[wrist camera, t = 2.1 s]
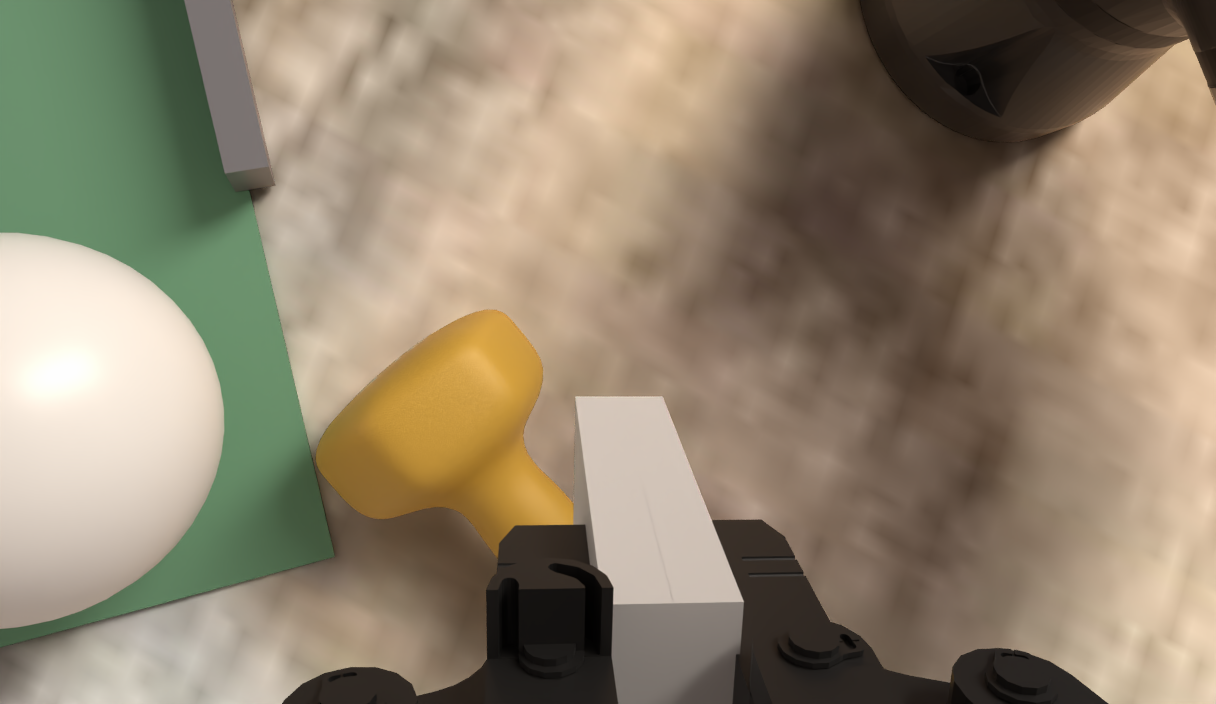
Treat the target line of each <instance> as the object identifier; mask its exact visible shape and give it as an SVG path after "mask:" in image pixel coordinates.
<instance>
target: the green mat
mask: <svg viewBox="0 0 1216 704" xmlns="http://www.w3.org/2000/svg"><path fill="white" fill-rule="evenodd" d="M0 233H24V234H32V235H39V236H47V237H51V238H55V239H59V240H63V241H67V242H71V243H75V244H79V245H83V246H85V247H88V248H91V249H93V250H96V251H99V252H101V253H104V254H107V255H108V256H110V257H112V258H114V259H116V260H118V261H120V262H122V263H124V264H126V265H128V266H130V267H131V268H133V269H134V270H136V271H137V272H139V273H140V274H141V275H143V276H144V277H146V278H147V279H149V280H150V281H152V282H153V283H154V284H155V285H156V286H157V287H158V288H160V289H161V290H162V291H163V292H164V293H165V294H166V295H167V296H168V297H170V298H171V299H172V300H173V301H174V302H175V304H176V305H177V306H178V307H179V308H180V309H181V311H182V312H183V313H184V314H185V315H186V316H187V318H188V319H189V320H190V321H191V323H192V324H193V326H194V327H195V329H196V330H197V332H198V333H199V335H200V337H201V338H202V340H203V341H204V344H205V346H206V348H207V350H208V352H209V354H210V356H211V358H212V361H213V363H214V366H215V370H216V373H217V376H218V379H219V382H220V387H221V393H222V399H223V405H224V437H223V446H222V454H221V458H220V462H219V465H218V469H217V473H216V477H215V479H214V482H213V484H212V487H211V489H210V491H209V494H208V496H207V499H206V501H205V503H204V504H203V506H202V508H201V510H200V511H199V513H198V515H197V517H196V518H195V520H194V522H193V524H192V525H191V526H190V528H189V529H188V530H187V532H186V533H185V534H184V536H183V537H182V538H181V540H180V541H179V542H178V543H177V545H176V546H175V547H174V548H173V549H172V550H171V551H170V552H169V553H168V554H167V555H166V556H165V557H164V558H163V559H162V560H161V561H160V562H159V563H158V564H157V565H156V566H154V567H153V568H152V569H151V570H149V571H148V572H147V573H146V574H144V575H143V576H142V577H141V578H139V579H138V580H137V581H135V582H134V583H132V584H130V585H129V586H127V587H126V588H124V589H122V590H121V591H119V592H117V593H116V594H114V595H113V596H111V597H109V598H108V599H106V600H104V601H102V602H99V603H97V604H95V605H93V606H91V607H89V608H86V609H84V610H82V611H80V612H77V613H74V614H71V615H68V616H65V617H62V618H58V619H55V620H52V621H47V622H42V623H37V624H33V625H28V626H22V627H16V628H5V629H0V647H4V646H7V645H11V644H15V643H18V642H22V641H26V640H29V639H33V638H37V637H41V636H44V635H48V634H52V633H55V632H59V631H63V630H66V629H70V628H74V627H77V626H81V625H85V624H89V623H92V622H96V621H100V620H103V619H107V618H111V617H114V616H118V615H122V614H125V613H129V612H133V611H137V610H140V609H144V608H148V607H151V606H155V605H159V604H162V603H166V602H170V601H173V600H177V599H181V598H184V597H188V596H192V595H196V594H199V593H203V592H207V591H210V590H214V589H218V588H221V587H225V586H229V585H232V584H236V583H240V582H244V581H247V580H251V579H255V578H258V577H262V576H266V575H269V574H273V573H277V572H280V571H284V570H288V569H292V568H295V567H299V566H303V565H306V564H310V563H314V562H317V561H321V560H325V559H328V558H332V557H335V554H334V550H333V546H332V542H331V537H330V533H329V529H328V524H327V520H326V516H325V512H324V507H323V503H322V499H321V494H320V490H319V486H318V482H317V477H316V473H315V469H314V465H313V460H312V456H311V452H310V447H309V443H308V439H307V435H306V430H305V426H304V422H303V417H302V413H301V409H300V405H299V400H298V396H297V392H296V387H295V383H294V379H293V375H292V370H291V366H290V362H289V358H288V353H287V349H286V345H285V340H284V336H283V332H282V328H281V323H280V319H279V315H278V310H277V306H276V302H275V298H274V293H273V289H272V285H271V280H270V276H269V272H268V268H267V263H266V259H265V255H264V250H263V246H262V242H261V238H260V233H259V229H258V225H257V221H256V216H255V212H254V208H253V203H252V199H251V195H250V191H249V190H246V191H240V192H235V190H234V189H233V187H232V185H231V183H230V182H229V180H228V178H227V176H226V175H225V172H224V168H223V164H222V159H221V155H220V151H219V147H218V142H217V138H216V134H215V129H214V125H213V121H212V117H211V112H210V108H209V104H208V100H207V95H206V91H205V87H204V83H203V78H202V74H201V70H200V65H199V61H198V57H197V53H196V48H195V44H194V40H193V36H192V31H191V27H190V23H189V19H188V14H187V10H186V6H185V1H184V0H0Z"/></svg>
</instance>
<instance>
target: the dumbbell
mask: <svg viewBox="0 0 1216 704" xmlns="http://www.w3.org/2000/svg"><path fill="white" fill-rule="evenodd" d="M542 381H543V367H542V363H541V360H540V357H539V356H538V354H537V352H536V350H535V349H534V347H533V346H532V345H531V343H530V342H529V341H528V339H527V338H526V337H525V336H524V334H523V333H522V332H521V331H520V330H519V328H518V327H517V326H516V325H515V324H514V322H513V321H512V320H511V319H510V318H509V317H508V316H507V315H505V314H504V313H503V312H500V311H497V310H483V311H478V312H475V313H472V314H469V315H466V316H464V317H462V318H460V319H458V320H456V321H454V322H452V323H450V324H448V325H446V326H445V327H443V328H441V329H439V330H438V331H436V332H434V333H433V334H431V335H429V336H428V337H426V338H425V339H423V340H422V341H420V342H419V343H417V344H416V345H415V346H413V347H412V348H411V349H409V350H408V351H407V352H405V353H404V354H403V355H402V356H400V357H399V358H398V359H397V360H395V361H394V362H393V363H392V364H391V365H389V366H388V367H387V368H386V369H385V370H384V371H382V372H381V373H380V374H379V375H378V376H377V377H376V378H375V379H373V380H372V381H371V382H370V383H369V384H368V385H367V386H366V387H365V388H364V389H363V390H362V391H361V392H360V393H359V394H358V395H357V396H356V397H355V398H354V399H353V400H352V401H351V402H350V403H349V404H348V405H347V406H346V407H345V408H344V409H343V410H342V412H341V413H340V414H339V415H338V416H337V417H336V418H335V419H334V420H333V421H332V423H331V424H330V425H329V427H328V428H327V429H326V431H325V433H324V434H323V436H322V438H321V440H320V442H319V445H318V447H317V451H316V463H317V467H318V469H319V471H320V472H321V474H322V475H323V476H324V477H325V479H326V480H327V481H328V482H329V483H330V484H331V486H332V487H333V488H334V489H335V490H336V491H337V492H338V494H339V495H340V496H341V497H342V498H343V499H344V500H345V501H346V502H347V503H348V504H349V505H350V506H351V507H353V508H354V509H355V510H356V511H358V512H359V513H361V514H363V515H365V516H367V517H369V518H376V519H388V518H394V517H398V516H401V515H404V514H408V513H411V512H415V511H418V510H422V509H425V508H432V507H447V508H450V509H453V510H456V511H458V512H460V513H461V514H463V515H464V516H465V517H466V518H467V519H468V520H469V521H470V522H471V524H472V525H473V526H474V527H475V529H476V530H477V531H478V533H479V534H480V536H481V537H482V538H483V540H484V541H485V543H486V544H487V545H488V547H489V548H490V549H491V551H492V552H493V553H494V554H495V556H496V557H497V558H498V551H499V543H500V542H501V540H502V539H503V538H504V537H505V536H506V535H507V534H508V533H509V532H510V530H511V529H512V528H513V527H514V526H515V525H573V513H574V504H573V502H572V501H571V500H570V499H569V498H568V497H567V496H566V495H565V493H564V492H563V491H562V490H561V489H560V488H559V487H558V486H557V485H556V484H555V483H554V482H553V481H552V480H551V479H550V478H549V477H548V476H547V475H546V474H545V473H543V472H542V471H541V470H540V469H539V468H538V466H537V465H536V464H535V463H534V462H533V461H532V459H531V458H530V456H529V455H528V453H527V450H526V448H525V445H524V438H523V433H524V427H525V424H526V421H527V419H528V417H529V415H530V413H531V411H532V409H533V407H534V405H535V403H536V400H537V398H538V396H539V393H540V389H541V385H542Z"/></svg>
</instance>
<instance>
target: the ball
mask: <svg viewBox="0 0 1216 704" xmlns="http://www.w3.org/2000/svg"><path fill="white" fill-rule="evenodd" d="M223 437H224V405H223V399H222V393H221V387H220V382H219V379H218V376H217V373H216V370H215V366H214V363H213V361H212V358H211V356H210V354H209V352H208V350H207V348H206V346H205V344H204V341H203V340H202V338H201V337H200V335H199V333H198V332H197V330H196V329H195V327H194V326H193V324H192V323H191V321H190V320H189V319H188V318H187V316H186V315H185V314H184V313H183V312H182V311H181V309H180V308H179V307H178V306H177V305H176V304H175V302H174V301H173V300H172V299H171V298H170V297H168V296H167V295H166V294H165V293H164V292H163V291H162V290H161V289H160V288H158V287H157V286H156V285H155V284H154V283H153V282H152V281H150V280H149V279H147V278H146V277H144V276H143V275H141V274H140V273H139V272H137V271H136V270H134V269H133V268H131V267H130V266H128V265H126V264H124V263H122V262H120V261H118V260H116V259H114V258H112V257H110V256H108V255H107V254H104V253H101V252H99V251H96V250H93V249H91V248H88V247H85V246H83V245H79V244H75V243H71V242H67V241H63V240H59V239H55V238H51V237H47V236H39V235H32V234H24V233H0V629H5V628H16V627H22V626H28V625H33V624H37V623H42V622H47V621H52V620H55V619H58V618H62V617H65V616H68V615H71V614H74V613H77V612H80V611H82V610H84V609H86V608H89V607H91V606H93V605H95V604H97V603H99V602H102V601H104V600H106V599H108V598H109V597H111V596H113V595H114V594H116V593H117V592H119V591H121V590H122V589H124V588H126V587H127V586H129V585H130V584H132V583H134V582H135V581H137V580H138V579H139V578H141V577H142V576H143V575H144V574H146V573H147V572H148V571H149V570H151V569H152V568H153V567H154V566H156V565H157V564H158V563H159V562H160V561H161V560H162V559H163V558H164V557H165V556H166V555H167V554H168V553H169V552H170V551H171V550H172V549H173V548H174V547H175V546H176V545H177V543H178V542H179V541H180V540H181V538H182V537H183V536H184V534H185V533H186V532H187V530H188V529H189V528H190V526H191V525H192V524H193V522H194V520H195V518H196V517H197V515H198V513H199V511H200V510H201V508H202V506H203V504H204V503H205V501H206V499H207V496H208V494H209V491H210V489H211V487H212V484H213V482H214V479H215V477H216V473H217V469H218V465H219V462H220V458H221V454H222V446H223Z"/></svg>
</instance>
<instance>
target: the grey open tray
mask: <svg viewBox="0 0 1216 704" xmlns="http://www.w3.org/2000/svg"><path fill="white" fill-rule="evenodd" d="M184 1H185V6H186V10H187V14H188V19H189V23H190V27H191V31H192V36H193V40H194V44H195V48H196V53H197V57H198V61H199V65H200V70H201V74H202V78H203V83H204V87H205V91H206V95H207V100H208V104H209V108H210V112H211V117H212V121H213V125H214V129H215V134H216V138H217V142H218V147H219V151H220V155H221V159H222V164H223V168H224V172H225V175H226V176H227V178H228V180H229V182H230V183H231V185H232V187H233V189H234V190H235V192H240V191H246V190H252V189H258V188H264V187H270V186H275V181H274V177H273V173H272V168H271V164H270V160H269V156H268V151H267V147H266V143H265V138H264V134H263V130H262V126H261V121H260V117H259V113H258V108H257V104H256V100H255V95H254V91H253V87H252V83H251V78H250V74H249V70H248V65H247V61H246V57H245V52H244V48H243V44H242V40H241V35H240V31H239V27H238V22H237V18H236V14H235V9H234V5H233V1H232V0H184Z"/></svg>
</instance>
